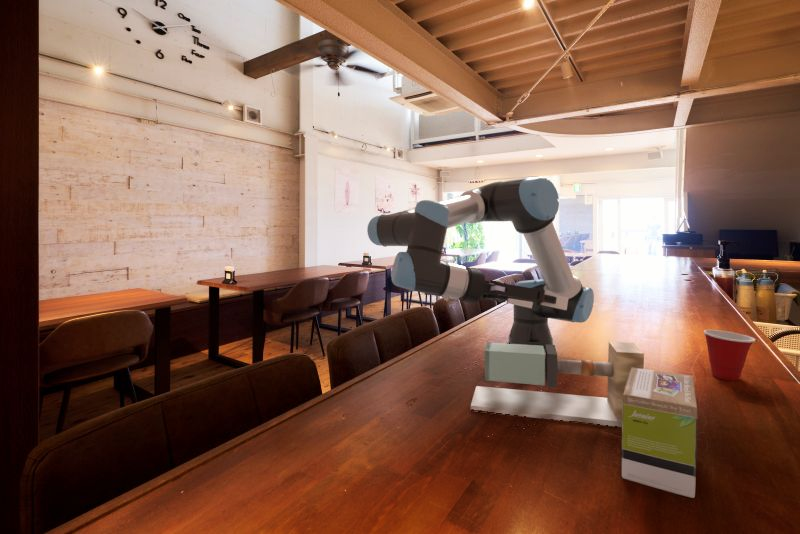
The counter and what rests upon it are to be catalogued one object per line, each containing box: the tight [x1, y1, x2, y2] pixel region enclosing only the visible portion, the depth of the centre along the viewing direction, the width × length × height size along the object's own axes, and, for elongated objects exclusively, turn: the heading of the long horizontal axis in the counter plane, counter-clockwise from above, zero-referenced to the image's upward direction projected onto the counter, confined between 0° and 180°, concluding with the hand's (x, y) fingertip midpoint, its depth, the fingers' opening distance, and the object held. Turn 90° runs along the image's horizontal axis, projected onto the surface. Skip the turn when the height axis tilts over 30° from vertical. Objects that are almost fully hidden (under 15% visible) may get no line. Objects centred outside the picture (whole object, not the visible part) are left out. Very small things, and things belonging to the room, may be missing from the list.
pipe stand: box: [470, 341, 645, 428], centre depth 90 cm, size 36×12×15 cm, turn 73°
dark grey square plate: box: [544, 344, 558, 389], centre depth 90 cm, size 2×8×8 cm, turn 163°
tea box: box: [621, 367, 698, 499], centre depth 68 cm, size 15×10×15 cm, turn 145°
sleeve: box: [484, 342, 546, 386], centre depth 93 cm, size 13×7×7 cm, turn 73°
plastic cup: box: [703, 329, 756, 381], centre depth 107 cm, size 11×11×12 cm
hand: (548, 303), depth 91 cm, fingers open, 13 cm apart
